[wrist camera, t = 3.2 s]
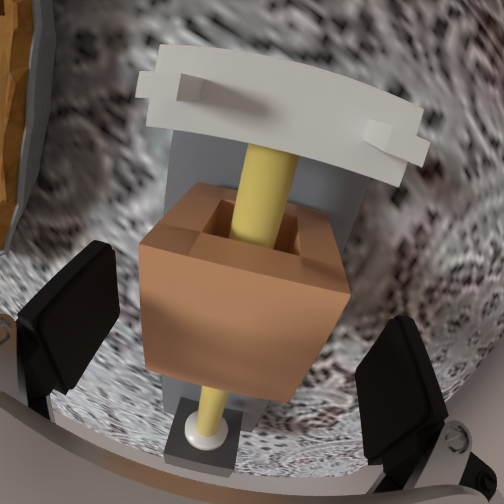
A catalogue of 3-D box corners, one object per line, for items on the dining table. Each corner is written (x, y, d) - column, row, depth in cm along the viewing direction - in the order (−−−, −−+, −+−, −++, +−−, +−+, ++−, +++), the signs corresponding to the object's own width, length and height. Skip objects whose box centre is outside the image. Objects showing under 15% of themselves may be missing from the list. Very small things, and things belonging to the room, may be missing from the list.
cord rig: (194, 54, 9) (92, 16, 3) (387, 101, 9) (497, 116, 3) (166, 404, 22) (145, 469, 16) (252, 425, 22) (243, 492, 16)
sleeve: (197, 181, 10) (138, 243, 6) (326, 212, 11) (351, 294, 6) (185, 285, 13) (145, 369, 9) (289, 310, 13) (288, 402, 9)
